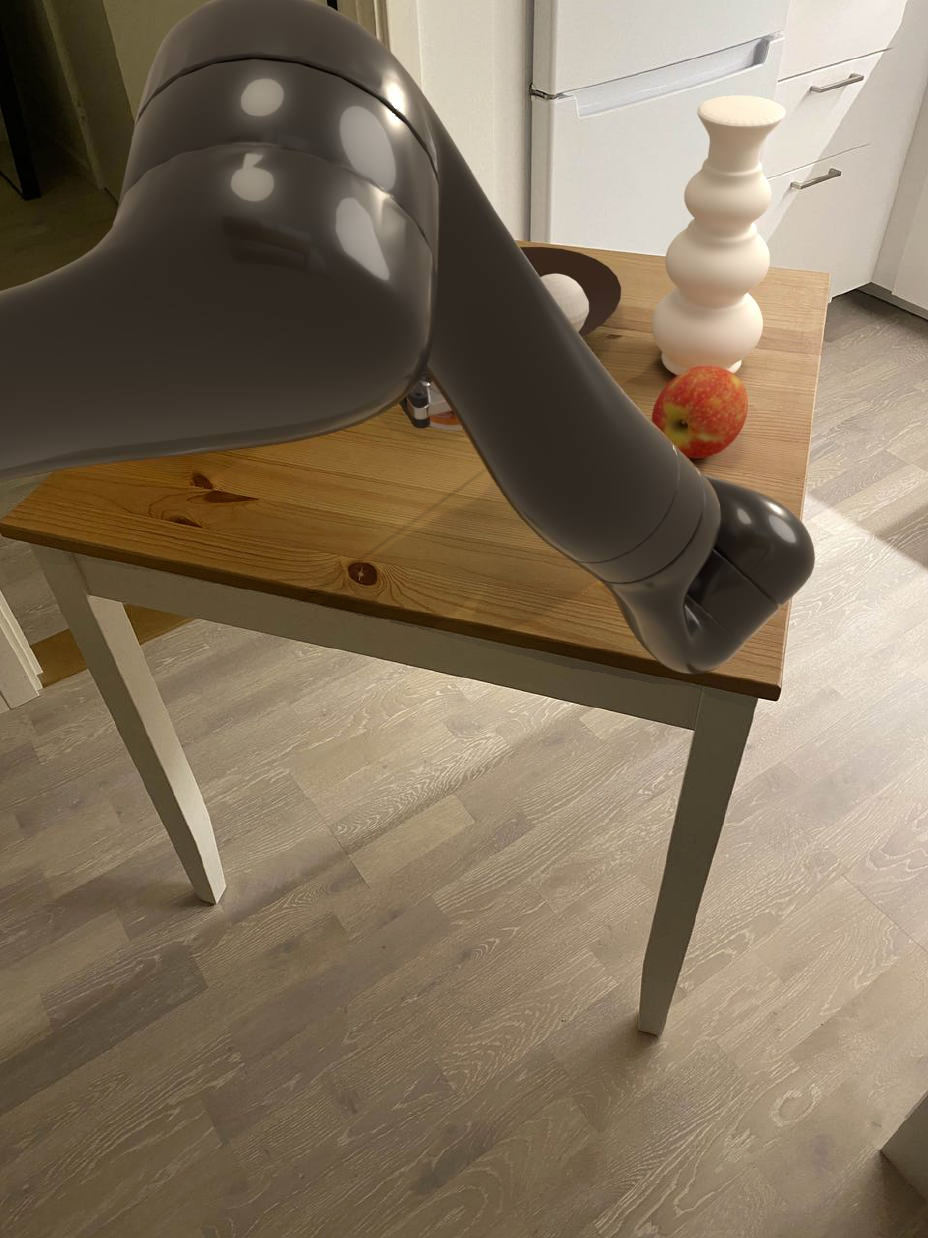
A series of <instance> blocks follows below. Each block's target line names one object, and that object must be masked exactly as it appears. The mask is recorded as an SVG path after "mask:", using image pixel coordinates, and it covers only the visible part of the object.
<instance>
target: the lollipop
mask: <svg viewBox="0 0 928 1238" xmlns="http://www.w3.org/2000/svg"><path fill="white" fill-rule="evenodd" d="M540 278H541V280H542V281H543V283H544V284H545V286H546V287H547V289H548V290H549V292H550V293H551V295H552V296H553V298H554V299H555V301H556V302H557V303H558V305H559V306H560V308H561V309H562V310H563V312H564V313H565V315H566V316H567V317H568V319H569V320H570V322H571V323H572V324H573V326H574V327H575V329H576V330H577V331H578V332H579V330H580V329H581V327H582V326H583V324H584V322H585V319H586V317H587V315H588V312H589V302H588V299H587V297H586V295H585V293H584V291H583V290H582V288H581V287H580V285H579V284H578V283H577V282H576V281H575V280H573V279H572V278H570V277H568V276H566V275H561V274H549V275H545V276H542V277H540Z"/></svg>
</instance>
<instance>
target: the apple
mask: <svg viewBox="0 0 928 1238" xmlns="http://www.w3.org/2000/svg"><path fill="white" fill-rule="evenodd" d="M746 389H747V388H746V387H745V385H744V383H743V381H742V380H741V379H740V378H739V377H738V376H737V375H736V374H735V373H734V374H733V373H732V372H730V371H728V370H726V369H723V368H720V367H714V366H699V367H694V368H691V369H689V370H686V371H684V372H682V373H681V374H679V375H678V376H677V375H675V377H673V378H672V379H671V380H670V381H669V382H668V383H667V384H666V386H665V387H664V388H663V389H662V390H661V392H660V394H659V395H658V397H657V398H656V400H655V403H654V405H653V409H652V413H651V421H652V422H653V423H654V424H655V425H656V426H657V427H658V428H659V429H660V430H661V431H662V432H663V433H664V434H665V435H666V436H667V437H668V438H669V439H670V440H671V441H672V442H673V443H674V444H675V445H676V446H677V447H678V448H679V449H680V450H681V452H682V453H683V454H684V455H685V456H686V457H687V458H688V459H705V458H709V457H711V456H715V455H716V454H719V453H721V452H723V451H724V450H726V449H727V448H728V447H729V446H730V445H731V444H732V443H733V442H734V441H735V440H736V439H737V437H738V436H739V434H740V433H741V431H742V430H743V428H744V425H745V423H746V420H747V416H748V410H749V409H748V408H749V399H748V393H747V390H746Z"/></svg>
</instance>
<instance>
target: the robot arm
mask: <svg viewBox="0 0 928 1238" xmlns="http://www.w3.org/2000/svg"><path fill="white" fill-rule="evenodd" d="M130 140H131V141H130V148H129V152H128V153H129V154H128V158H127V161H126V162H127V163H126V167H125V172H124V176H123V182H122V186H121V187H122V188H121V191H120V194H119V195H120V196H119V201H118V205H117V210H116V215H115V217H114V220H113V223H112V227H111V228H110V230H109V231H108V232H107V233H106V235H105V236H104V237H103V238H102V239H101V240H100V241H99V242H98V243H97V244H96V245H95V246H94V247H93V248H92V249H90V250H89V251H87V252H86V253H85V254H83V255H82V256H81V257H79V258H77V259H75V260H74V261H72V262H70V263H68V264H66V265H63V266H62V267H60V268H58V269H56V270H54V271H51V272H50V273H47V274H45V275H43V276H41V277H37V278H35V279H33V280H31V281H29V282H26V283H23V284H20V285H16V286H13V287H9V288H6V289H2V290H0V482H7V481H10V480H16V479H17V480H18V479H23V478H28V477H33V476H37V475H43V474H48V473H54V472H58V471H63V470H70V469H77V468H78V469H79V468H85V467H86V468H87V467H93V466H99V465H107V464H116V463H126V462H135V461H137V462H138V461H144V460H145V461H147V460H155V459H163V458H164V459H165V458H174V457H182V456H192V455H202V454H211V453H221V452H229V451H237V450H245V449H255V448H259V447H260V448H261V447H270V446H279V445H284V444H289V443H294V442H295V443H296V442H301V441H305V440H310V439H311V440H312V439H315V438H320V437H324V436H328V435H331V434H335V433H338V432H342V431H345V430H348V429H350V428H353V427H356V426H360V425H362V424H364V423H367V422H369V421H371V420H373V419H375V418H378V417H379V416H382V415H383V414H385V413H386V412H388V411H389V410H391V409H392V408H394V407H395V406H397V405H398V404H399V405H400V407H401V408H402V411H403V412H404V413H405V415H406V416H407V418H408V419H409V421H410V422H411V425H412V426H413V427H414V428H416V429H419V430H420V429H421V430H423V429H426V428H429V427H430V426H429V425H430V416H433V415H437V414H441V413H445V412H449V411H450V412H451V413H452V414H453V415H455V416H456V418H457V419H458V421H459V423H460V425H461V426H462V428H463V429H462V430H463V431H464V433H465V436H466V437H467V439H468V440H469V442H470V445H472V447H473V449H474V451H475V452H476V454H477V456H478V457H479V459H480V461H481V463H482V464H483V466H484V467H485V469H486V471H487V472H488V474H489V476H490V478H491V479H492V481H493V482H494V484H495V485H496V486H497V488H498V489H499V491H500V493H501V494H502V496H503V497H504V498H505V500H506V501H507V503H508V504H509V506H510V507H511V508H512V509H513V511H514V513H516V514H517V516H518V517H519V518H520V519H521V521H522V522H524V523H525V524H526V525H527V526H528V528H529V529H530V530H532V532H534V533H535V535H536V536H537V537H539V538H540V539H541V540H543V542H545V543H546V544H547V545H548V546H549V547H551V548H552V549H554V550H555V551H556V552H558V553H559V554H561V555H562V556H564V557H565V558H566V559H568V560H569V561H571V562H573V563H574V564H575V565H577V566H578V567H579V568H581V569H583V570H584V571H585V572H587V573H589V575H591V576H592V577H594V578H595V579H597V580H598V581H599V582H601V584H603V585H604V586H605V587H606V588H607V590H608V591H609V592H610V594H611V596H612V597H613V599H614V601H615V603H616V605H617V607H618V610H619V612H620V613H621V615H622V617H623V619H624V621H625V624H626V625H627V627H628V628H629V629H630V631H631V633H632V634H633V636H634V637H635V638H636V640H637V641H638V642H639V643H640V645H641V646H642V647H643V648H644V649H645V651H646V652H647V653H648V654H649V655H651V657H652V658H654V660H656V661H657V662H659V663H660V664H661V665H663V666H664V667H666V668H668V669H670V670H672V671H675V672H677V673H681V674H685V675H686V674H687V675H701V674H706V673H710V672H713V671H715V670H718V669H719V668H721V667H723V666H724V665H725V664H727V663H728V662H729V661H731V659H732V658H734V657H735V655H736V654H737V653H739V652H740V651H741V649H742V648H744V646H746V644H747V643H748V642H749V641H750V640H751V639H752V638H753V637H754V636H755V635H756V634H757V633H759V631H760V630H761V629H763V627H764V626H765V625H766V624H767V623H768V622H769V621H770V620H771V619H772V618H773V617H774V616H775V615H776V614H777V613H778V612H779V611H780V610H781V607H784V606H785V605H786V604H788V602H789V601H790V600H791V599H792V598H793V597H795V595H796V594H797V593H799V592H800V590H801V589H802V588H803V587H804V586H805V585H806V583H807V582H808V580H809V579H810V578H811V576H812V574H813V571H814V569H815V564H816V563H815V562H816V554H815V546H814V543H813V540H812V536H811V534H810V532H809V530H808V529H807V527H806V526H805V524H804V523H803V521H802V519H800V518H799V517H798V516H797V515H796V514H795V513H794V512H793V511H792V510H791V509H789V508H788V507H787V506H786V505H784V504H783V503H781V502H780V501H778V500H776V499H774V498H772V497H771V496H769V495H766V494H764V493H762V492H760V491H757V490H755V489H752V488H750V487H748V486H745V485H743V484H739V483H736V482H733V481H730V480H727V479H724V478H722V477H719V476H715V475H712V474H709V473H706V472H704V471H701V470H700V468H698V466H697V465H696V464H694V463H693V461H691V459H690V458H689V457H686V456H685V455H684V454H683V453H682V452H681V450H680V449H679V448H678V447H677V446H676V445H675V444H674V443H673V442H672V441H671V440H670V439H669V438H668V437H667V436H666V435H665V434H664V433H663V432H662V431H661V430H660V429H659V428H658V427H657V426H656V425H655V424H654V423H653V422H652V419H650V417H648V415H646V413H644V412H643V410H642V409H641V408H640V407H639V406H638V405H637V404H636V403H635V402H634V401H633V399H631V397H630V396H629V395H628V394H627V393H626V391H624V389H623V388H622V387H621V385H620V384H619V383H618V382H617V381H616V380H615V378H614V377H613V376H612V374H611V373H610V372H609V371H608V370H607V368H606V367H605V366H604V364H603V363H602V362H601V360H600V358H598V357H597V355H596V354H595V353H594V352H593V350H592V349H591V347H589V345H588V344H587V343H586V341H585V340H584V337H581V336H580V334H579V333H578V331H577V330H576V329H575V327H574V326H573V324H572V323H571V322H570V320H569V319H568V317H567V316H566V315H565V313H564V312H563V310H562V309H561V308H560V306H559V305H558V303H557V302H556V301H555V299H554V298H553V296H552V295H551V293H550V292H549V290H548V289H547V287H546V286H545V284H544V283H543V281H542V280H541V278H540V277H539V275H538V274H537V272H536V271H535V269H534V268H533V266H532V265H531V263H530V262H529V260H528V259H527V257H526V256H525V254H524V253H523V251H522V250H521V249H520V247H521V246H519V244H518V243H517V241H516V239H515V238H514V237H513V235H512V233H511V232H510V231H509V229H508V227H507V226H506V224H505V223H504V221H503V219H502V218H501V217H500V216H499V214H498V212H497V210H496V209H495V208H494V206H493V205H492V203H491V201H490V200H489V198H488V196H487V194H486V193H485V192H484V190H483V188H482V186H481V185H480V183H479V181H478V179H477V178H476V176H475V174H474V173H473V172H472V169H471V168H470V166H469V165H468V162H466V159H465V158H464V156H463V154H462V153H461V151H460V149H459V148H458V146H457V144H456V142H455V141H454V139H453V138H452V136H451V134H450V132H449V131H448V130H447V128H446V126H445V124H444V123H443V122H442V120H441V118H440V116H438V113H437V112H436V111H435V109H434V108H433V106H432V104H431V103H430V101H429V100H428V99H427V97H426V95H425V94H424V92H423V90H422V89H421V88H420V87H419V85H418V84H417V83H416V81H415V80H414V78H413V77H412V76H411V74H410V73H409V72H408V70H407V69H406V68H405V66H404V65H403V64H402V63H401V62H400V60H399V59H398V58H397V57H396V56H395V54H393V52H392V51H391V50H390V49H389V48H388V47H387V46H386V45H385V44H384V43H383V42H382V41H381V40H380V39H378V37H377V36H375V35H374V34H373V33H372V32H370V31H369V30H368V29H367V28H365V26H363V25H361V24H360V23H359V22H356V21H355V20H353V19H352V18H350V17H348V16H347V15H344V14H343V13H341V12H339V11H338V10H336V9H335V8H333V7H331V6H329V5H326V4H323V3H321V2H318V1H315V0H210V1H206V2H205V3H203V4H201V5H200V6H198V7H197V8H195V9H194V10H193V11H191V12H190V13H188V14H187V15H186V16H184V17H183V18H181V19H179V20H178V22H177V23H175V24H174V26H172V27H171V29H170V30H169V32H168V33H167V34H166V36H165V37H164V39H163V40H162V42H161V44H160V45H159V47H158V49H157V52H156V53H155V56H154V59H153V61H152V63H151V66H150V68H149V71H148V73H147V77H146V80H145V81H144V86H143V89H142V94H141V98H140V101H139V106H138V110H137V113H136V117H135V120H134V125H133V129H132V136H131V139H130Z"/></svg>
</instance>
